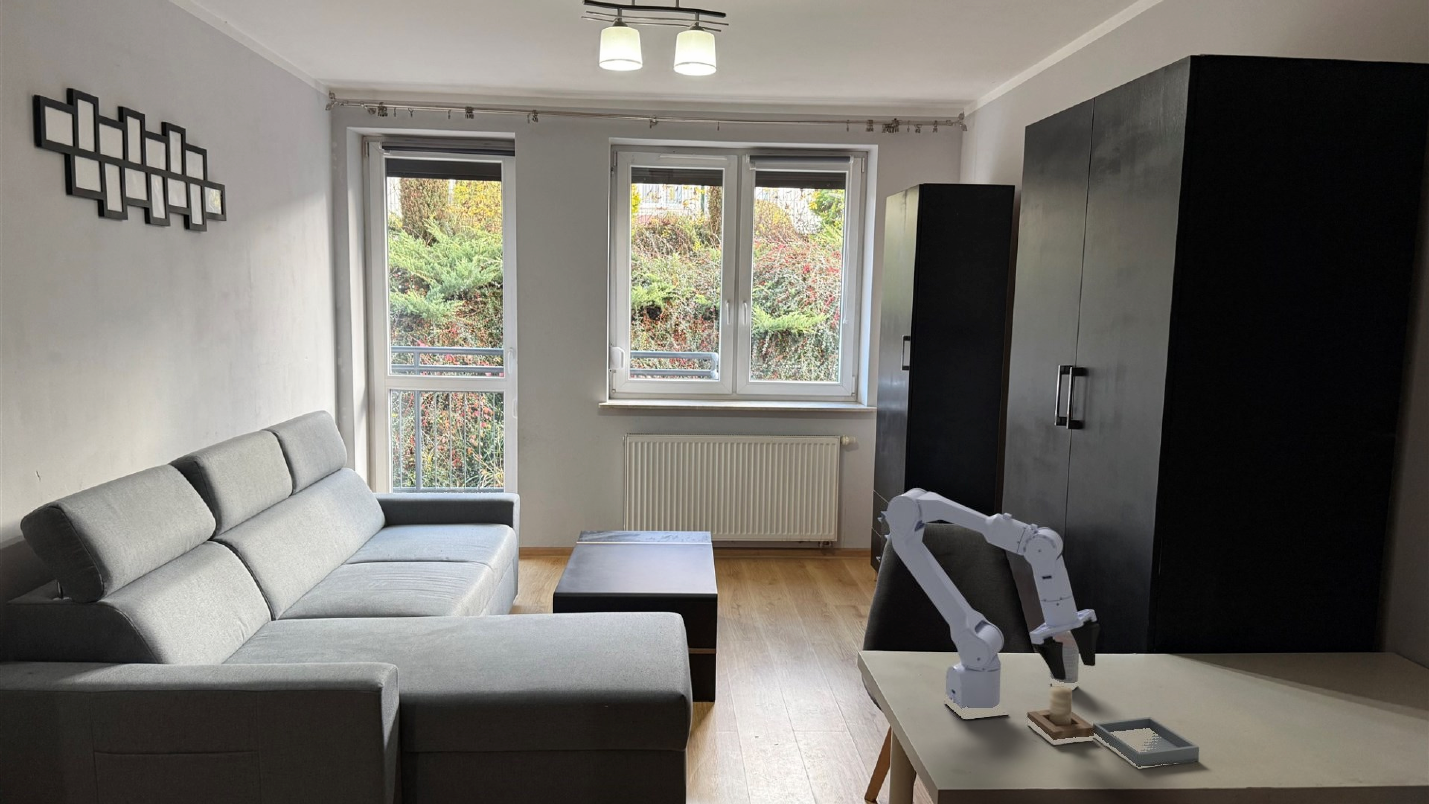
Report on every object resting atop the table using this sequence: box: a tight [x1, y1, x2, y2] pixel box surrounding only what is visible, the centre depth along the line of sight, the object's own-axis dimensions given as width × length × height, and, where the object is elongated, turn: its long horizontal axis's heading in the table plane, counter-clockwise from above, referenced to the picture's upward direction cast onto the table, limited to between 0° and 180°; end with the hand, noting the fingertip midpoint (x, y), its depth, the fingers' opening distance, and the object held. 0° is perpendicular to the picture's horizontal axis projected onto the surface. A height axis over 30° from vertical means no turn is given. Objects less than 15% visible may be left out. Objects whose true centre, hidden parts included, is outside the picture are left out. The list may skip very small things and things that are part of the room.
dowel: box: [1049, 686, 1073, 727], centre depth 156 cm, size 4×4×8 cm
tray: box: [1092, 716, 1200, 767], centre depth 150 cm, size 12×12×2 cm
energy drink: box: [1049, 630, 1080, 683], centre depth 176 cm, size 5×5×12 cm
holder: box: [1026, 709, 1094, 740], centre depth 156 cm, size 8×8×2 cm
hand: (1075, 671), depth 156 cm, fingers open, 7 cm apart
